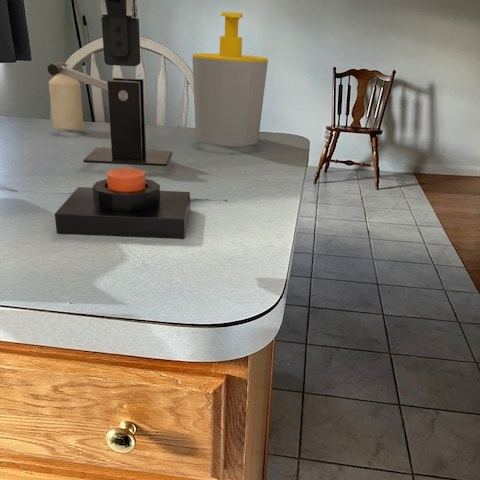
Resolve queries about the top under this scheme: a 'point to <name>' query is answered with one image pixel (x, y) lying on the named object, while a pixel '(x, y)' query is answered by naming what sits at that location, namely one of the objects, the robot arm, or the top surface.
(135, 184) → the button
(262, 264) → the top surface
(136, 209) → the control block
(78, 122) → the candle
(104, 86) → the switch lever
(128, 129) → the switch bracket
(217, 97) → the soap bottle
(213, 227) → the top surface
